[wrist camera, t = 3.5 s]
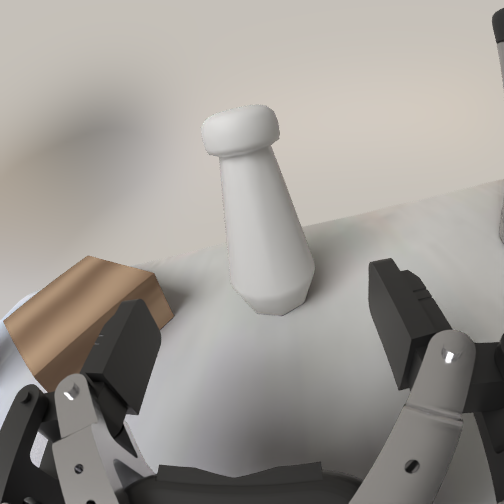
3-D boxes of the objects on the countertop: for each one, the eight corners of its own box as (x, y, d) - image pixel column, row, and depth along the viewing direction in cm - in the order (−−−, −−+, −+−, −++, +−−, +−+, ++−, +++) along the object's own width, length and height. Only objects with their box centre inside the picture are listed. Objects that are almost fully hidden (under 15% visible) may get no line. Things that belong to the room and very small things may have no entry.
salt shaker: (237, 282, 24) (191, 118, 18) (307, 266, 24) (277, 99, 18) (240, 333, 19) (175, 125, 13) (327, 313, 19) (296, 97, 13)
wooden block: (173, 316, 22) (153, 272, 20) (71, 416, 14) (33, 376, 12) (104, 288, 28) (88, 255, 26) (27, 354, 20) (3, 321, 18)
